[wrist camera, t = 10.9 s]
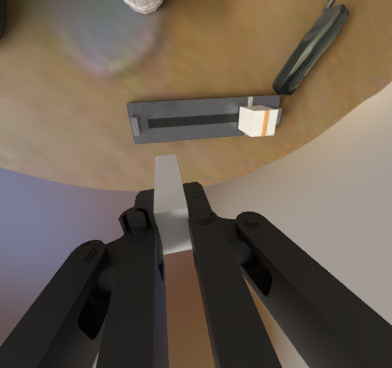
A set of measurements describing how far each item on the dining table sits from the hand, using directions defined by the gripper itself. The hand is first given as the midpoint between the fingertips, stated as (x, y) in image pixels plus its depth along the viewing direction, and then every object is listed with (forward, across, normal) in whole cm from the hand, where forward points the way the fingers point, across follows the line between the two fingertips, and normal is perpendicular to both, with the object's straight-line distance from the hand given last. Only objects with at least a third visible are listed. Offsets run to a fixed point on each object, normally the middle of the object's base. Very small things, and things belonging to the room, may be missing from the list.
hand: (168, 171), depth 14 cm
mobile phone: (+24, +26, +8) cm, 37 cm away
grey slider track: (+23, +8, -1) cm, 25 cm away
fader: (+21, +16, -1) cm, 26 cm away
